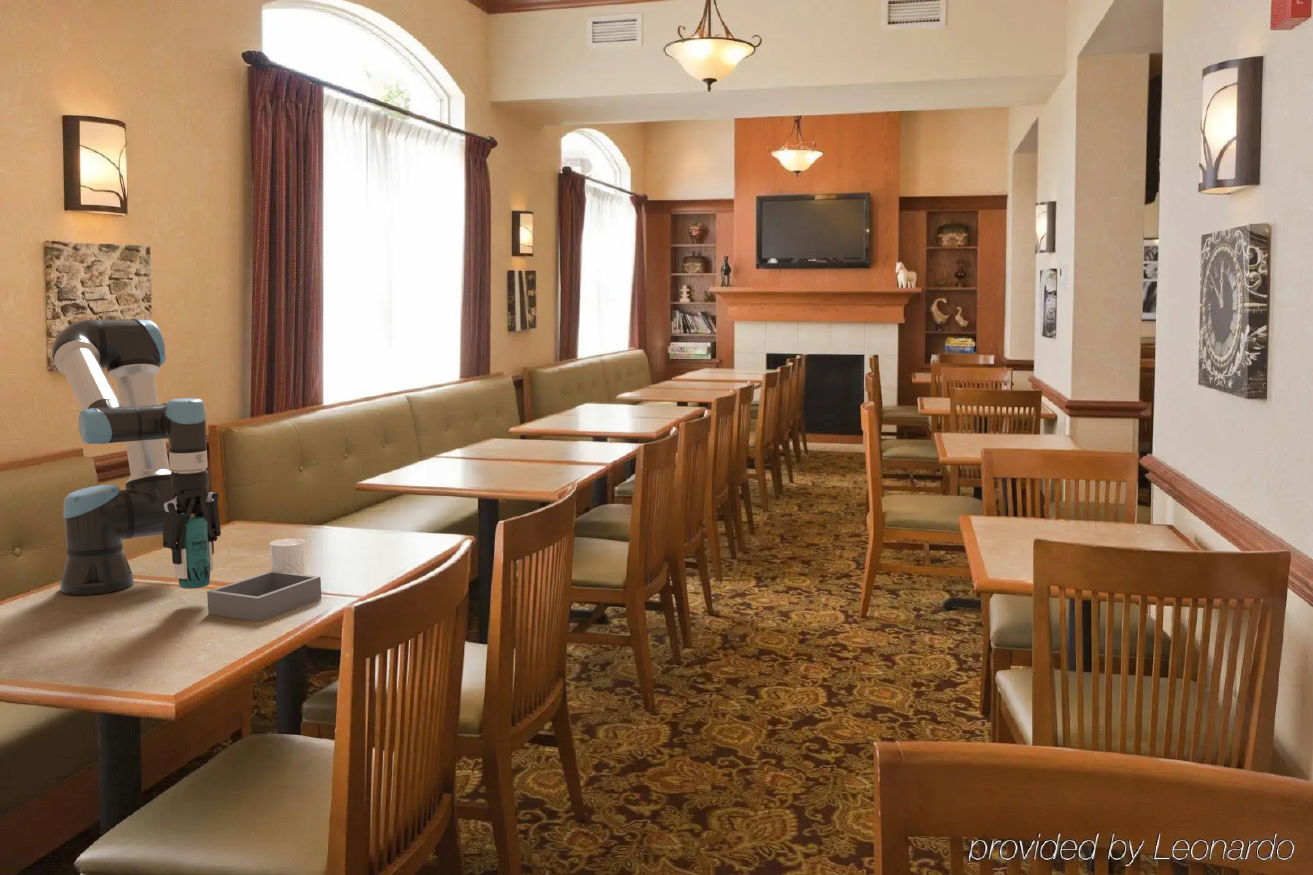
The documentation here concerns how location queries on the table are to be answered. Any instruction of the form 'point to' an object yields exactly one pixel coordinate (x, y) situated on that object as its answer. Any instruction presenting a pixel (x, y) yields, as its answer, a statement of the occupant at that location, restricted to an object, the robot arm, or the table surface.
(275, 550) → the white cup
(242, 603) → the trough tray
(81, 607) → the table surface
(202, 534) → the beverage bottle
